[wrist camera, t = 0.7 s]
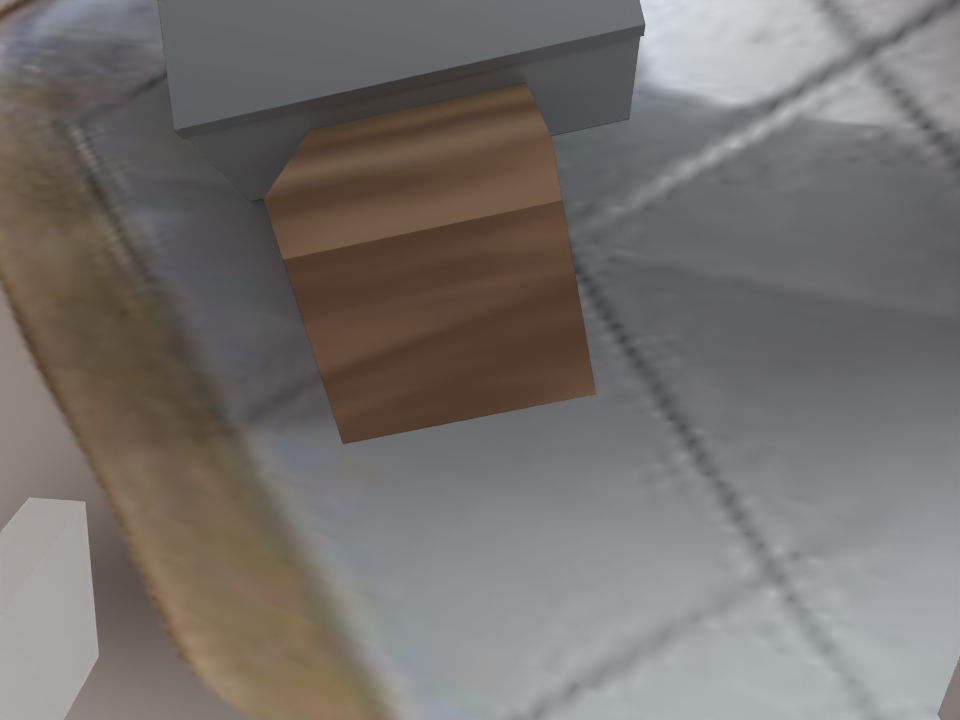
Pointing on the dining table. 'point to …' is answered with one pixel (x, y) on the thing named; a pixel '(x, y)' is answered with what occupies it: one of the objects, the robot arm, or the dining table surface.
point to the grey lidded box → (381, 67)
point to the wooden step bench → (433, 264)
